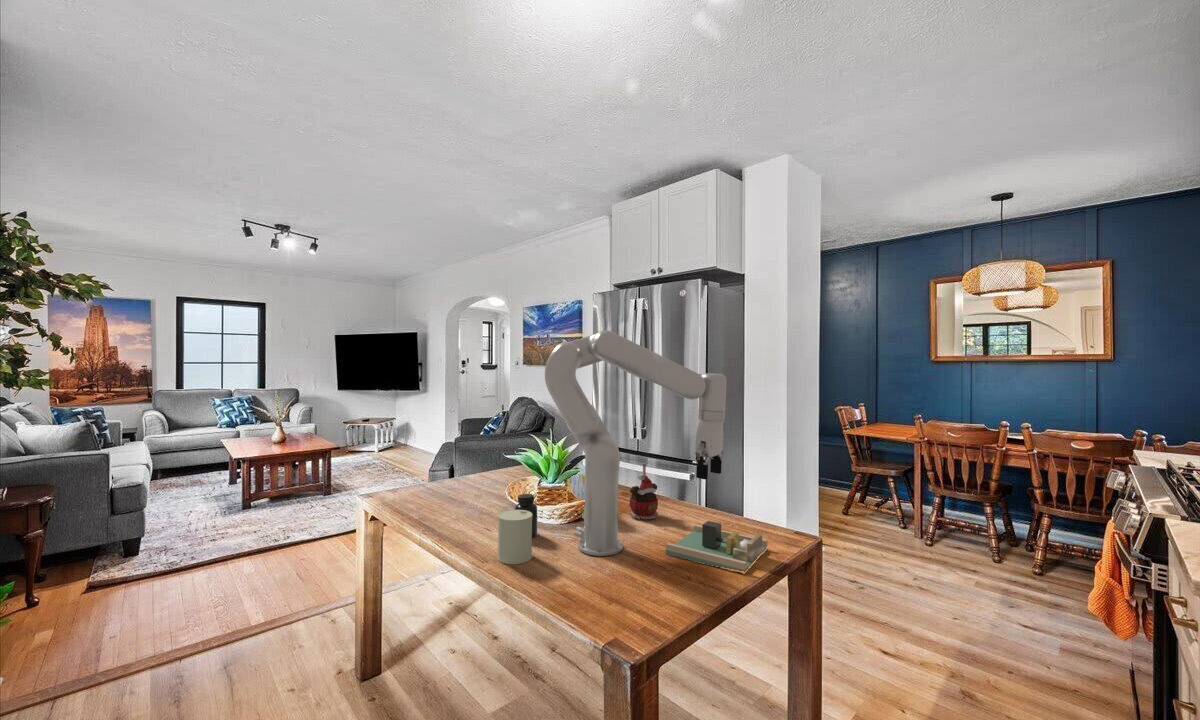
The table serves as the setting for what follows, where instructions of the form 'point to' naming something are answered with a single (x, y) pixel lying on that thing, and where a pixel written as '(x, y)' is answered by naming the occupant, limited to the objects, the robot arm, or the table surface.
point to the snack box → (578, 484)
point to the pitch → (709, 550)
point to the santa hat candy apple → (644, 498)
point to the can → (515, 536)
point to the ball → (743, 545)
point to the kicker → (718, 537)
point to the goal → (749, 549)
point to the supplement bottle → (528, 509)
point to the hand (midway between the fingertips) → (708, 475)
